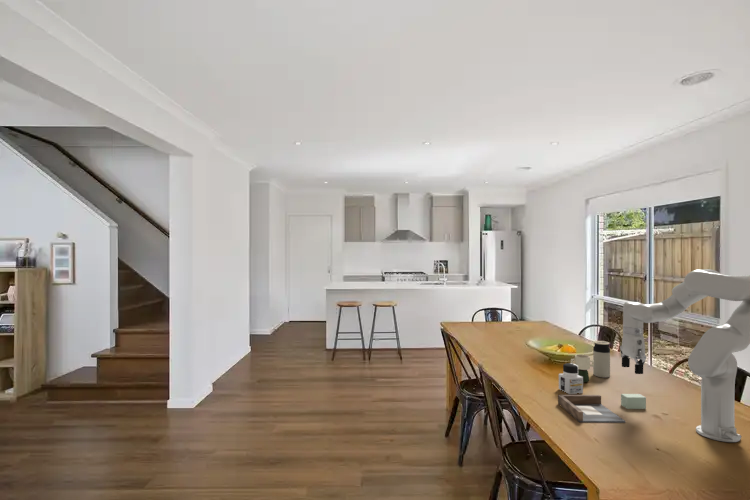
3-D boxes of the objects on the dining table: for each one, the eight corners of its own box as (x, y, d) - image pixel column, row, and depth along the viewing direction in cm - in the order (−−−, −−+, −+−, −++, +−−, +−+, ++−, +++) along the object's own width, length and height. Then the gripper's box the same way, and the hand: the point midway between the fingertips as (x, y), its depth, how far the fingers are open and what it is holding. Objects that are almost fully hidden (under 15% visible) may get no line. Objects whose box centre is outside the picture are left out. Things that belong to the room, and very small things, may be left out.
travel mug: (613, 377, 225) (613, 343, 225) (597, 377, 226) (597, 343, 226) (605, 373, 233) (605, 340, 233) (590, 373, 234) (590, 340, 234)
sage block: (646, 409, 181) (645, 397, 181) (627, 409, 181) (627, 397, 181) (639, 405, 186) (639, 393, 186) (621, 405, 186) (621, 393, 186)
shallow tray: (625, 422, 167) (625, 412, 167) (579, 422, 167) (579, 412, 167) (599, 404, 187) (599, 395, 187) (558, 403, 187) (558, 394, 187)
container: (569, 394, 199) (569, 366, 199) (558, 389, 207) (558, 362, 207) (583, 393, 201) (583, 365, 201) (571, 388, 209) (571, 361, 209)
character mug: (592, 380, 222) (592, 355, 222) (595, 384, 215) (595, 358, 215) (569, 378, 225) (569, 353, 225) (571, 382, 218) (571, 356, 218)
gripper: (654, 335, 175) (653, 376, 175) (630, 326, 192) (629, 364, 193) (636, 335, 175) (635, 376, 176) (613, 326, 193) (612, 364, 193)
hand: (632, 370), depth 184 cm, fingers open, 9 cm apart
